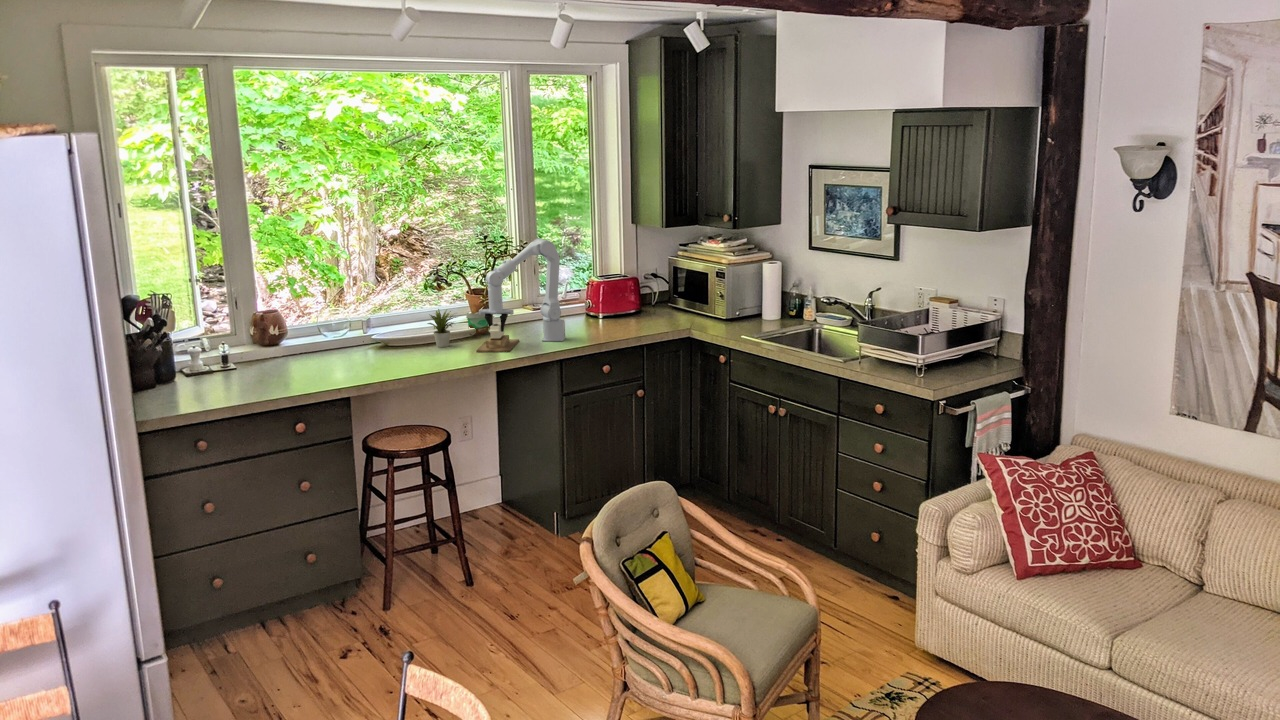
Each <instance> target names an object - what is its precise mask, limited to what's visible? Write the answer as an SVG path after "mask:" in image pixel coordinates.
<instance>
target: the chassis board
mask: <svg viewBox="0 0 1280 720" xmlns="http://www.w3.org/2000/svg"><path fill="white" fill-rule="evenodd" d="M519 342H520V339H519V338H516V339H515V338H511V339H510V334H504V335H503V336H502V337H501V338H491V336H489V337H488V338H487V339H486V340H484V342H483V343H482V344H481V345H480V346H479V347H478V348H477V349H476V350H475V352H476V353H510V352H511V351H512V350H513V349H514V348H515V346H516V345H517V344H518V343H519ZM513 347H514V348H513Z"/></svg>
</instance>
